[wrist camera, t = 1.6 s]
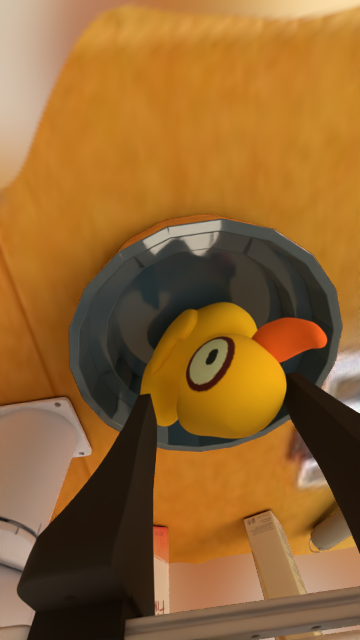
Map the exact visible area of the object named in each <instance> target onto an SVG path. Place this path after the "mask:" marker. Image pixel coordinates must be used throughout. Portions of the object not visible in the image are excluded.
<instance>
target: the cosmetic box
mask: <svg viewBox="0 0 360 640" xmlns="http://www.w3.org/2000/svg"><path fill="white" fill-rule="evenodd" d="M243 521H244V524H245V528H246V532H247V536H248V539H249V543H250V547H251V551H252V554H253V558H254V562H255V566H256V569H257V573H258V577H259V580H260V585H261V588H262V592H263V596H264V600H267V599H274V598H281V597H288V596H295V595H302V594H307V591H306V589H305V586H304V583H303V581H302V578H301V575H300V573H299V570H298V567H297V565H296V562H295V560H294V557H293V554H292V551H291V549H290V546H289V543H288V541H287V538H286V535H285V533H284V530H283V527H282V526H281V524H280V522H279V521H278V519H277V518H276V517H275V515H274V514H273V513H272V512H271V511H267V512H264V513H261V514H258V515H255V516H253V517H250V518H246V519H244V520H243ZM318 635H323V634H322V631H314V632H307V633H300V634H293V635H286V636H279V637H275V640H291V639H297V638H304V637H311V636H318Z"/></svg>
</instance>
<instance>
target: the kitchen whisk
mask: <svg viewBox="0 0 360 640" xmlns="http://www.w3.org/2000/svg"><path fill="white" fill-rule="evenodd" d="M310 535H311V538H310V541H311V540H312V542H313V544H314V545H315V546H316V547H317V548H318V549H319V550H320V551H318V552H314V551H312V550H311V548H310V550H311V551H312V552H314V553H320V552H321V551H324V550H329V549H330V548H332V547H334V546H335V545H337V544H338V543H340V542H341V541H343V540H345V539H346V538H348V537H349V536H351V535H352V534H351V532H350V530H349V527H348V525H347V523H346V521H345V518H344V516H343V514H342V512H341V510H340V509H339V510H337V511H336V512H335V513H333V514H332V515H330V516H329V517H328V518H326V519H325V520H324V521H322V522H321V523H320V524H318V525H317V526H316V527H314V528H313V531H312V532H311V534H310ZM310 541H309V547H310Z"/></svg>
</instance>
